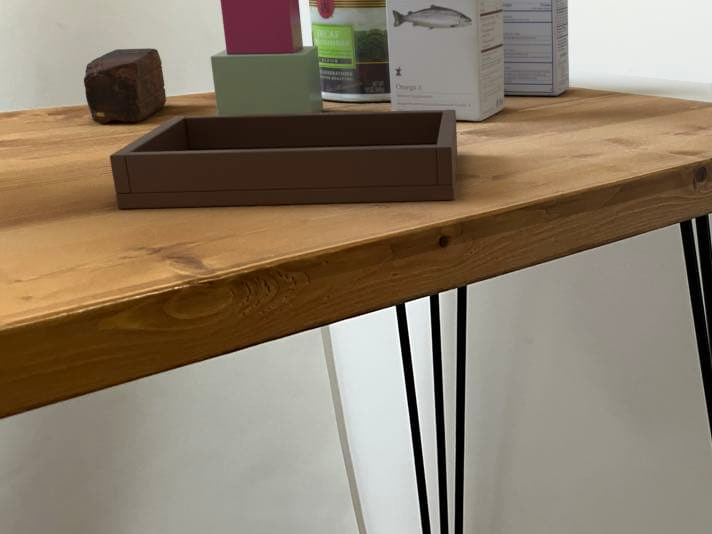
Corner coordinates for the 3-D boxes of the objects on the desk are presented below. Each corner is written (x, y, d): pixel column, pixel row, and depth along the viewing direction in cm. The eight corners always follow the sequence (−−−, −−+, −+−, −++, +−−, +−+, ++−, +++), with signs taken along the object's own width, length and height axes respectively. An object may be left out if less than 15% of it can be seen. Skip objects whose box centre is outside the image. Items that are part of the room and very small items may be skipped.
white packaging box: (389, 120, 85) (377, -59, 80) (421, 107, 91) (412, -60, 86) (482, 122, 83) (475, -61, 78) (508, 108, 90) (503, -61, 85)
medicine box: (570, 90, 100) (569, -13, 96) (557, 97, 96) (556, -10, 92) (486, 89, 102) (483, -12, 98) (470, 95, 98) (466, -10, 94)
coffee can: (374, 106, 92) (361, -79, 87) (291, 97, 98) (274, -76, 93) (456, 92, 100) (448, -79, 94) (374, 84, 106) (363, -77, 100)
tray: (117, 209, 58) (108, 155, 57) (180, 160, 71) (174, 116, 70) (453, 200, 59) (451, 146, 58) (457, 153, 71) (455, 109, 70)
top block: (226, 54, 83) (218, -17, 81) (239, 48, 88) (231, -19, 86) (293, 53, 83) (286, -18, 81) (303, 47, 88) (296, -21, 86)
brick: (120, 106, 95) (111, 48, 93) (168, 104, 95) (160, 47, 93) (89, 126, 85) (78, 62, 83) (142, 124, 85) (132, 60, 83)
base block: (218, 125, 84) (210, 56, 82) (237, 111, 91) (229, 47, 89) (311, 122, 85) (305, 54, 83) (323, 109, 91) (317, 45, 89)
